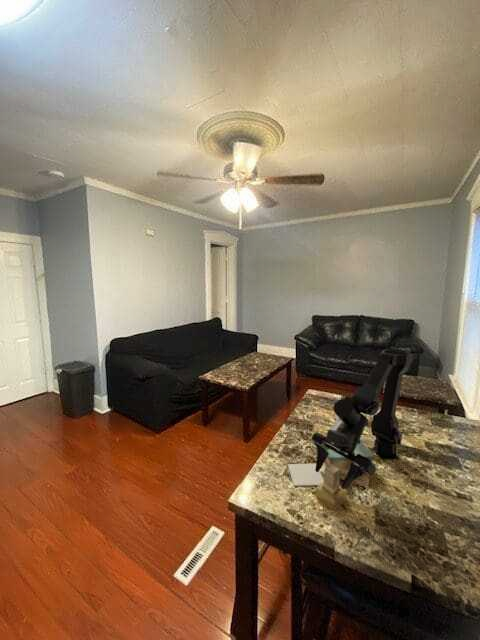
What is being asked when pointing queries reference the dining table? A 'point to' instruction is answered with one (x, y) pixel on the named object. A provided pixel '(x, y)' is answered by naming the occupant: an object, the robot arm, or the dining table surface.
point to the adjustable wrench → (335, 425)
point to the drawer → (344, 462)
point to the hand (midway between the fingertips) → (328, 479)
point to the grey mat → (305, 475)
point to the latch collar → (331, 496)
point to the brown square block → (331, 479)
